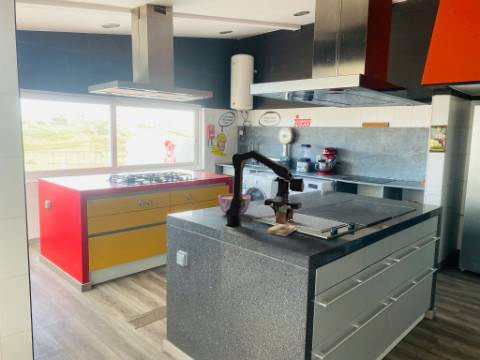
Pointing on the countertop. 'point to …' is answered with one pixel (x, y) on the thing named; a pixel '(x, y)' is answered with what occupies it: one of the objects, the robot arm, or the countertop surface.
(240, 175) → the robot arm
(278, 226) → the oak base
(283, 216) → the walnut block
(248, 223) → the countertop surface
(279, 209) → the food container
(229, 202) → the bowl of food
